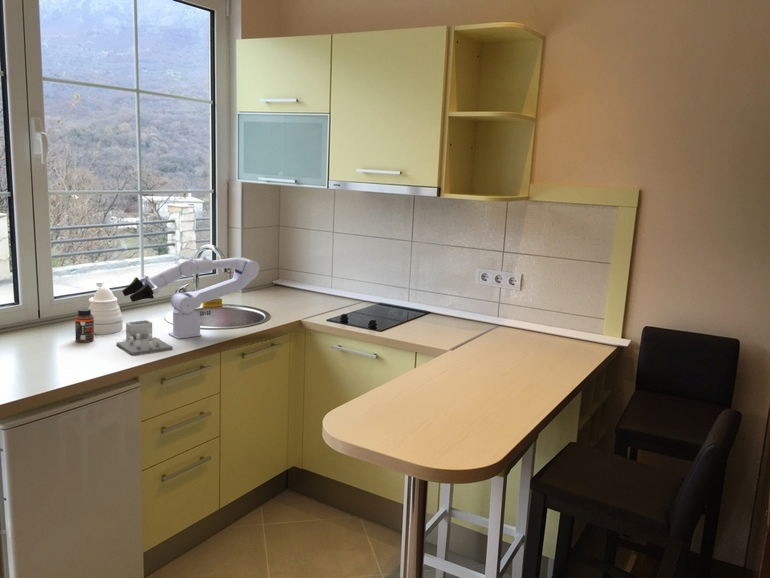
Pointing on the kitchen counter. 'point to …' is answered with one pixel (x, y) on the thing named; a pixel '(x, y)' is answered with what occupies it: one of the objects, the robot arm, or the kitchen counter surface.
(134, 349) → the pin tray
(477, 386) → the kitchen counter surface
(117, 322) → the honey pot
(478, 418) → the kitchen counter surface
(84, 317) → the supplement bottle
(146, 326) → the block
